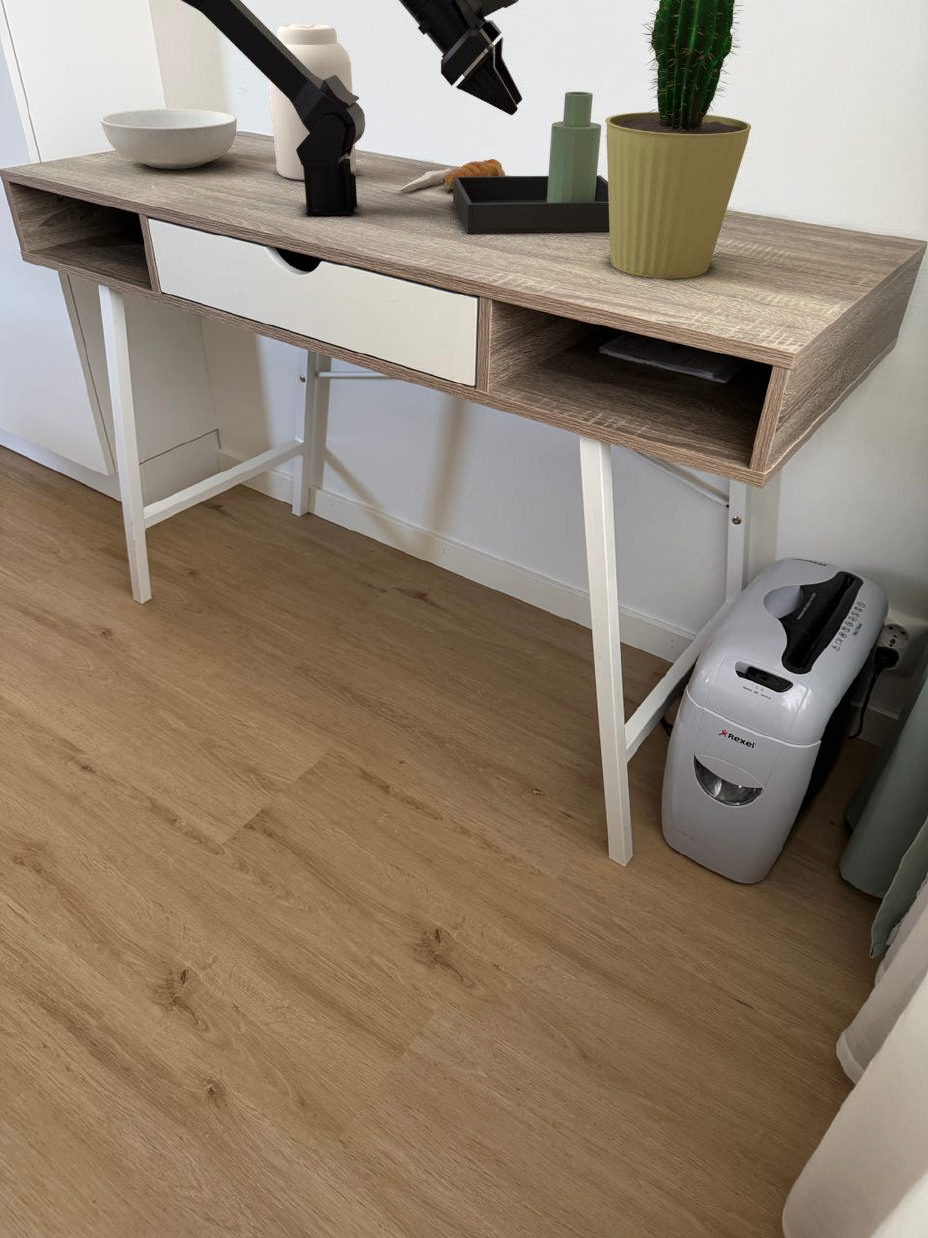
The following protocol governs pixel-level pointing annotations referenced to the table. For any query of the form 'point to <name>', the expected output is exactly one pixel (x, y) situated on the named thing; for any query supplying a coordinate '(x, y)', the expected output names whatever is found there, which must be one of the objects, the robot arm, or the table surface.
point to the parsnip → (427, 180)
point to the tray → (525, 206)
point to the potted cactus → (676, 149)
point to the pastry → (475, 171)
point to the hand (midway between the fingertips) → (517, 106)
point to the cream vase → (322, 60)
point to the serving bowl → (170, 136)
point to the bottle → (574, 152)
